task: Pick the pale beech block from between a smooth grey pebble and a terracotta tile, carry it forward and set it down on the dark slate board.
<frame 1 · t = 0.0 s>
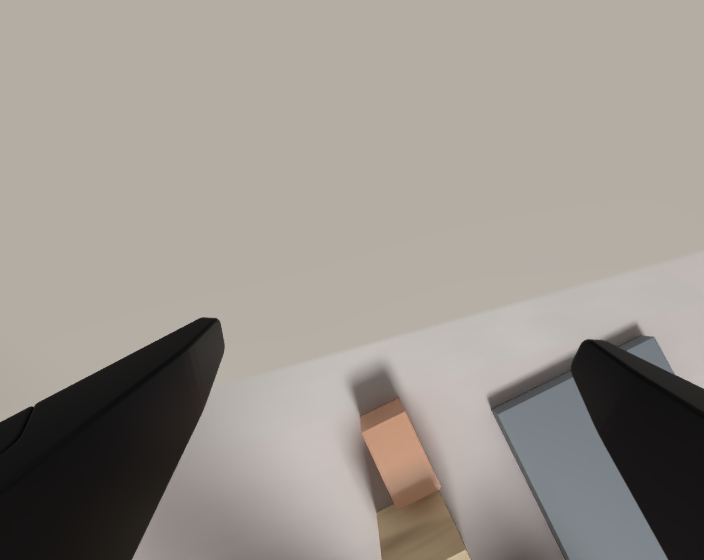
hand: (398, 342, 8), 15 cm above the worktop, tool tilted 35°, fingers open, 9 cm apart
terracotta tile: (394, 439, 22), on the worktop
beech block: (420, 528, 22), on the worktop
slate board: (622, 479, 22), on the worktop
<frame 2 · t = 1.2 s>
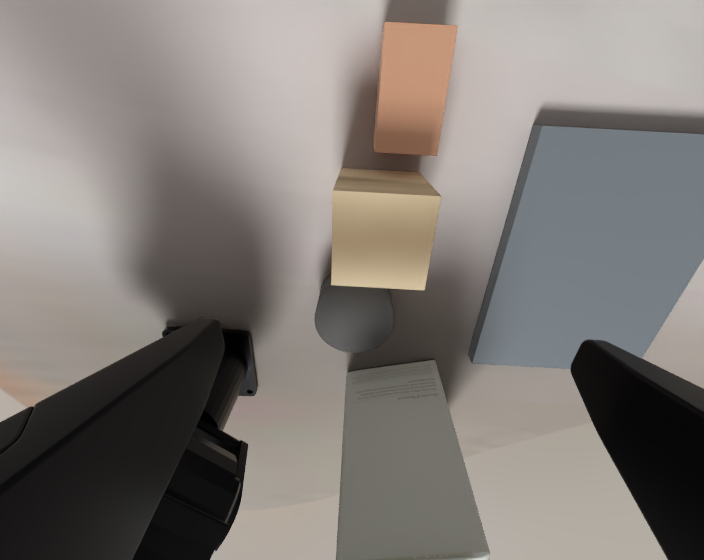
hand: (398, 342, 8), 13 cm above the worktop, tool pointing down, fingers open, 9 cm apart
supplement box: (396, 394, 27), on the worktop
smooth grey pebble: (355, 297, 23), on the worktop
terracotta tile: (405, 96, 17), on the worktop
beech block: (376, 208, 20), on the worktop
slate board: (586, 265, 21), on the worktop
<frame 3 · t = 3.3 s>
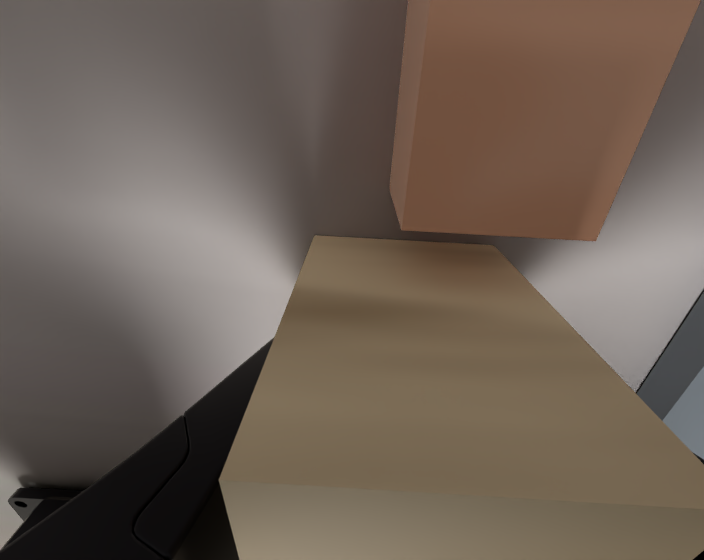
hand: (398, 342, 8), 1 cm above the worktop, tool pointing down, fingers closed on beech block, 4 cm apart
terracotta tile: (476, 65, 6), on the worktop
beech block: (394, 314, 9), on the worktop, touching gripper
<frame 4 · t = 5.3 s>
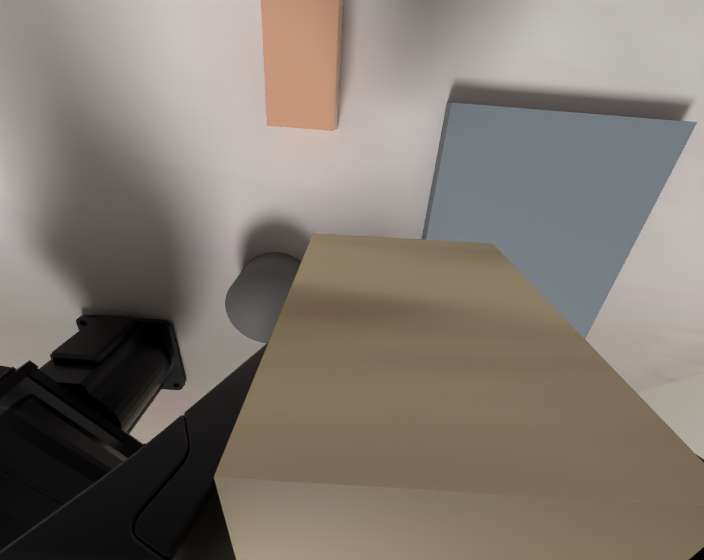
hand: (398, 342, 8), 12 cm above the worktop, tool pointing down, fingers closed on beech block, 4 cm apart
smooth grey pebble: (278, 286, 22), on the worktop
terracotta tile: (310, 69, 16), on the worktop
beech block: (392, 313, 9), point 11 cm above the worktop, touching gripper
slate board: (515, 255, 20), on the worktop
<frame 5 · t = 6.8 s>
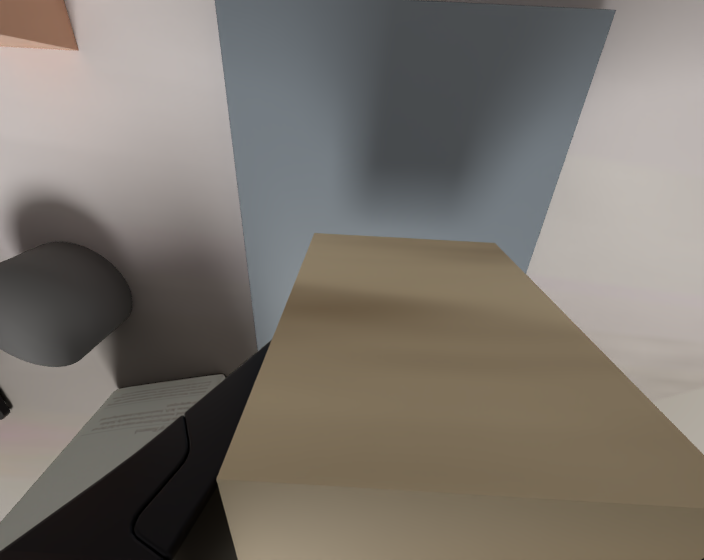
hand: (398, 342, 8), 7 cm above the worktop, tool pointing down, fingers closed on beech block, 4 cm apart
supplement box: (197, 417, 21), on the worktop
smooth grey pebble: (82, 287, 16), on the worktop
beech block: (394, 313, 9), point 6 cm above the worktop, touching gripper
slate board: (385, 239, 14), on the worktop
when the fingers open (3 cm above the worktop, at t = 7.8 s): beech block drops 1 cm, resting on slate board.
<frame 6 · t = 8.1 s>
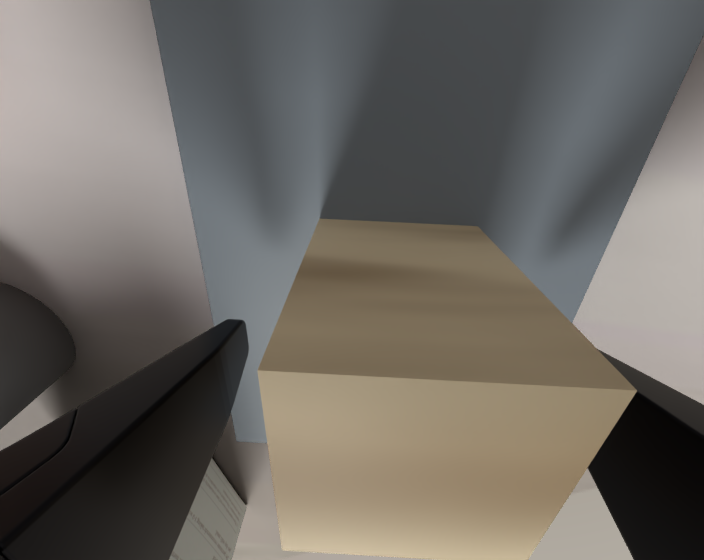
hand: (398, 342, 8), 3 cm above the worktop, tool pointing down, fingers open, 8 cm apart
supplement box: (165, 473, 17), on the worktop
smooth grey pebble: (12, 331, 13), on the worktop
beech block: (390, 290, 10), point 1 cm above the worktop, touching slate board
slate board: (390, 277, 11), on the worktop
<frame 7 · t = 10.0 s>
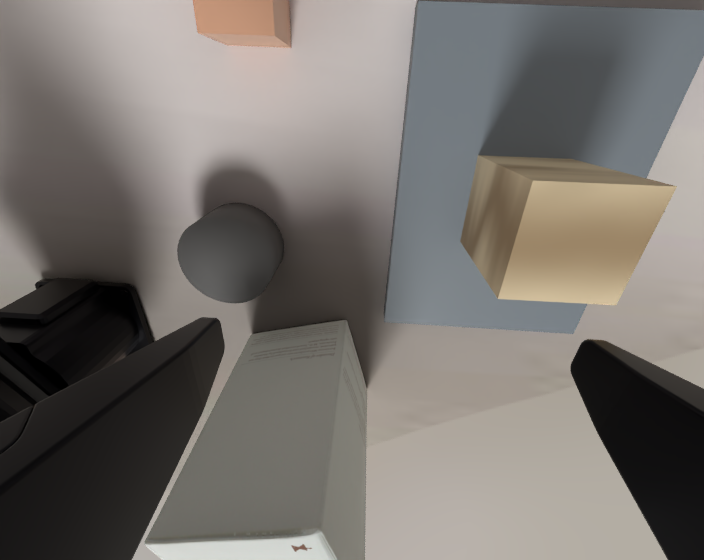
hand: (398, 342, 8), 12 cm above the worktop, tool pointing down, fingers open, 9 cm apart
supplement box: (312, 361, 24), on the worktop
smooth grey pebble: (244, 242, 20), on the worktop
beech block: (512, 203, 17), point 1 cm above the worktop, touching slate board
slate board: (505, 199, 17), on the worktop
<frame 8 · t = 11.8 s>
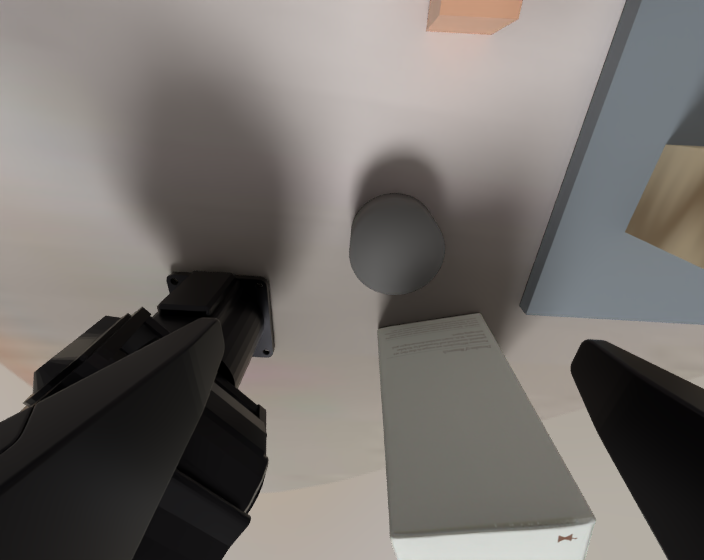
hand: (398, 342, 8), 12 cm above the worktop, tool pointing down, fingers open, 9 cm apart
supplement box: (431, 356, 24), on the worktop
smooth grey pebble: (392, 234, 19), on the worktop
beech block: (687, 193, 17), point 1 cm above the worktop, touching slate board
slate board: (671, 190, 18), on the worktop
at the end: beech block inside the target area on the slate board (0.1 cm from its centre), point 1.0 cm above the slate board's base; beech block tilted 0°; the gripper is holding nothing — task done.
